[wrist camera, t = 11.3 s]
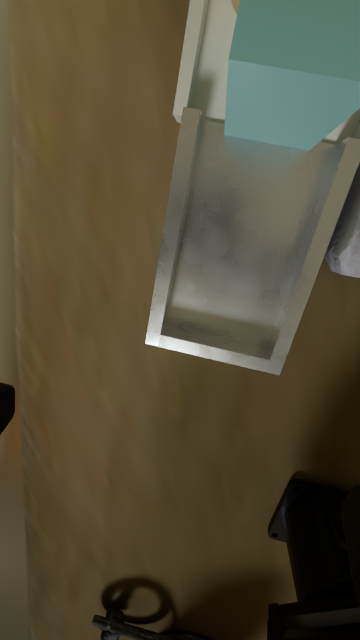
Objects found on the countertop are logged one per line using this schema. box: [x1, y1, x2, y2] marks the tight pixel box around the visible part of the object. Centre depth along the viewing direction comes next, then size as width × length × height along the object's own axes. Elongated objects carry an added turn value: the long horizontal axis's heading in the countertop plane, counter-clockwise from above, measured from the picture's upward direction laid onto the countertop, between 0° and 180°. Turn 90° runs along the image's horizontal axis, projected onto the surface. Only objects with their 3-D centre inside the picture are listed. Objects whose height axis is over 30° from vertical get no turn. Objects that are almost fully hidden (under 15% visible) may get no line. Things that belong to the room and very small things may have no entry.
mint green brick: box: [224, 0, 360, 151], centre depth 10 cm, size 4×4×7 cm
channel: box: [145, 107, 360, 375], centre depth 16 cm, size 12×8×2 cm
